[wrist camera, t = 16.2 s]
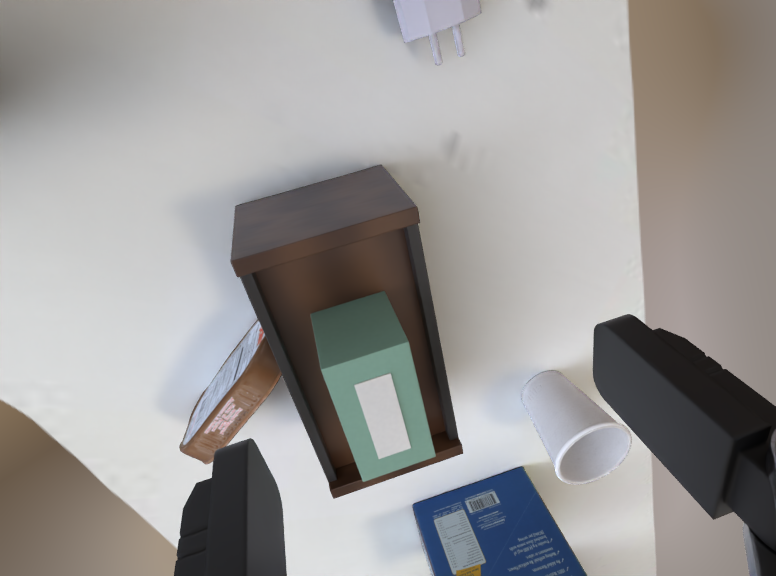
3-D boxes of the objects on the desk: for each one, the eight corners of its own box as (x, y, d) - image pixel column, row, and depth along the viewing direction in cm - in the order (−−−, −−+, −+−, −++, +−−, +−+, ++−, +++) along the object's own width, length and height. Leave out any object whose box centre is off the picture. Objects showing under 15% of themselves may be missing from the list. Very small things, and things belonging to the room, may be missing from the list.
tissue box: (348, 418, 41) (363, 483, 35) (310, 313, 35) (321, 371, 29) (411, 397, 41) (436, 457, 36) (384, 290, 35) (409, 342, 30)
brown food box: (215, 414, 48) (201, 487, 41) (185, 402, 47) (165, 475, 40) (301, 306, 43) (301, 367, 36) (270, 290, 42) (264, 349, 35)
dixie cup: (589, 376, 57) (648, 439, 49) (542, 425, 60) (590, 493, 51) (544, 350, 53) (600, 414, 45) (496, 404, 56) (540, 473, 47)
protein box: (527, 512, 68) (592, 631, 55) (422, 549, 66) (465, 682, 53) (523, 464, 62) (596, 583, 49) (410, 503, 61) (453, 638, 48)
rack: (319, 417, 50) (333, 499, 42) (235, 205, 38) (230, 261, 29) (428, 381, 52) (463, 453, 43) (381, 164, 39) (417, 206, 31)
